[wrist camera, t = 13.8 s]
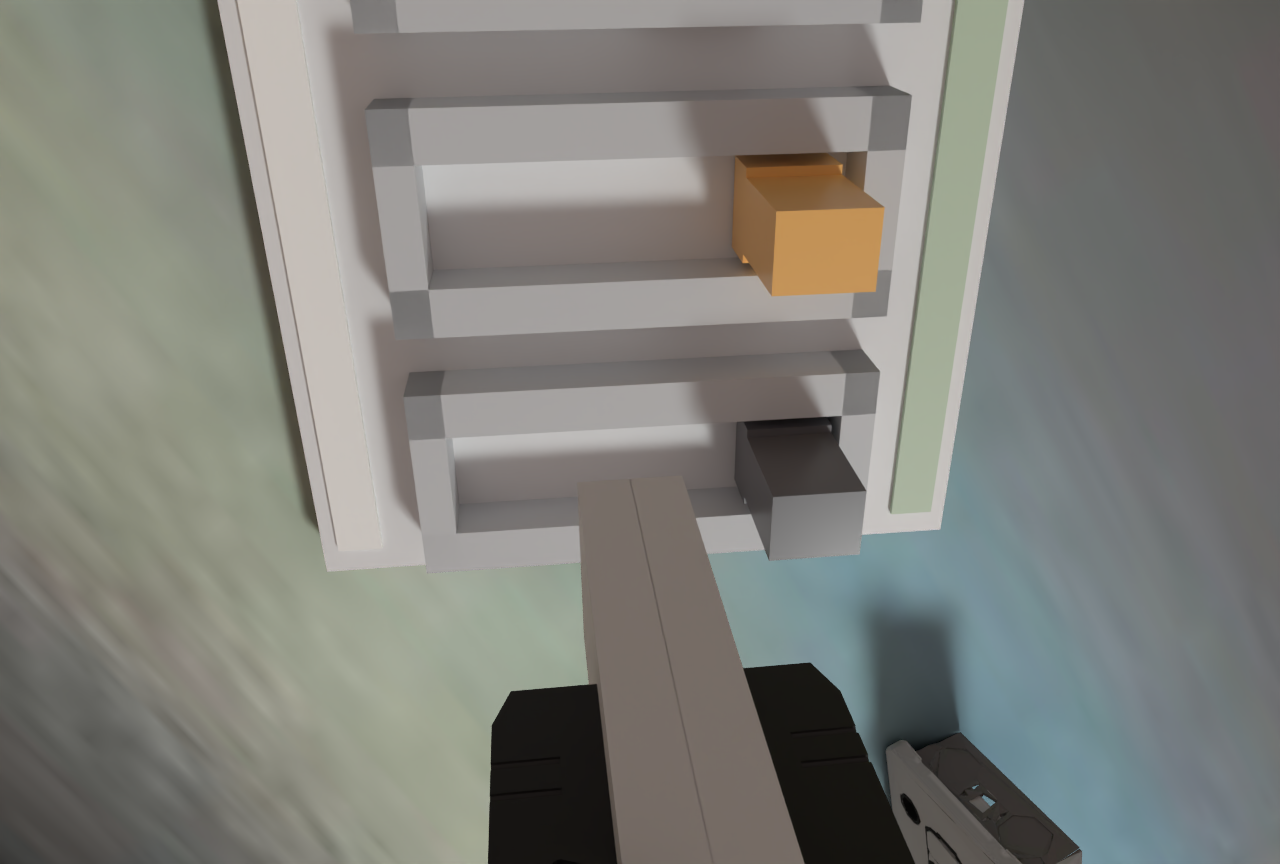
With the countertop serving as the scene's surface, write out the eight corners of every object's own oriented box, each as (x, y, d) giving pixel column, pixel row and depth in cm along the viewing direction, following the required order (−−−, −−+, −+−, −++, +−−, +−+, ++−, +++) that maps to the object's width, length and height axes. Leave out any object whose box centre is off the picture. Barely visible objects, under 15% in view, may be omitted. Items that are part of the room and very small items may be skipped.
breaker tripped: (731, 246, 32) (771, 306, 27) (734, 155, 31) (776, 200, 26) (819, 243, 33) (874, 301, 28) (826, 152, 31) (886, 196, 26)
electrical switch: (881, 735, 46) (981, 904, 38) (982, 703, 47) (1102, 864, 38) (895, 863, 50) (987, 1039, 42) (987, 833, 51) (1096, 1001, 43)
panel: (334, 548, 38) (317, 603, 35) (175, -303, 26) (127, -335, 22) (926, 509, 40) (960, 557, 37) (1046, -294, 28) (1112, -322, 25)
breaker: (734, 478, 37) (768, 568, 32) (737, 407, 35) (773, 489, 30) (811, 473, 37) (858, 562, 32) (818, 403, 36) (867, 482, 30)
